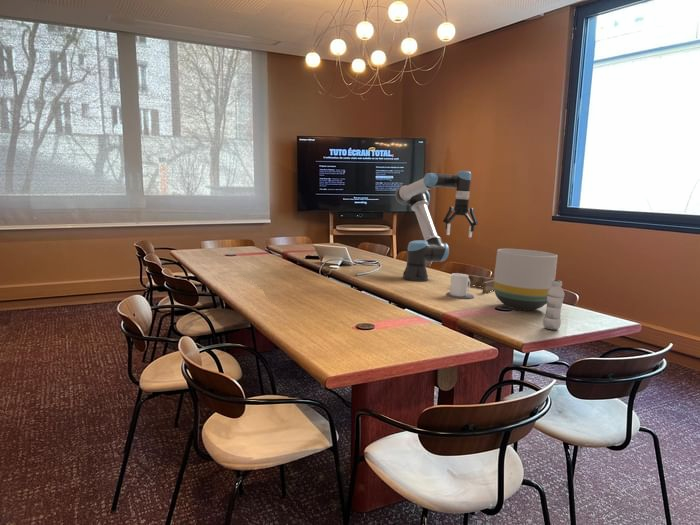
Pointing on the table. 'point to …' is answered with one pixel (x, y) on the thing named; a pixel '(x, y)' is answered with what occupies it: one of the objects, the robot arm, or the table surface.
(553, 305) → the plastic bottle
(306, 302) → the table surface
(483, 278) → the dock
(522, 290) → the planter
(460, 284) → the mug
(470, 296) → the coaster
